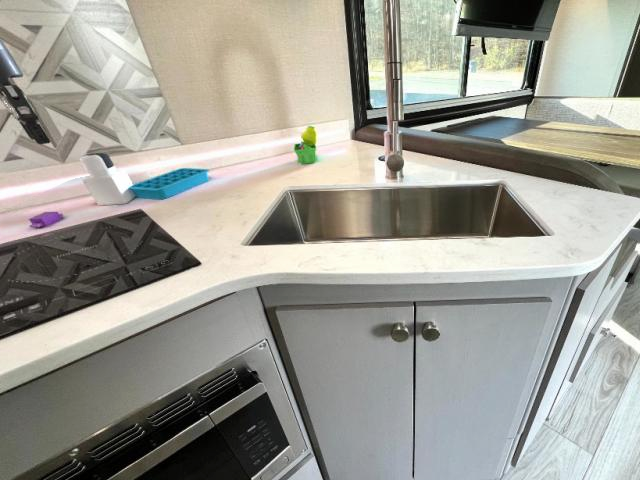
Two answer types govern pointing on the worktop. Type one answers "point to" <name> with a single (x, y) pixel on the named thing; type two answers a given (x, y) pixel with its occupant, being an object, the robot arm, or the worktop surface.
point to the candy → (45, 219)
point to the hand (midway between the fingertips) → (41, 141)
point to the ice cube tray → (170, 183)
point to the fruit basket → (307, 146)
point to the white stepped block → (106, 180)
